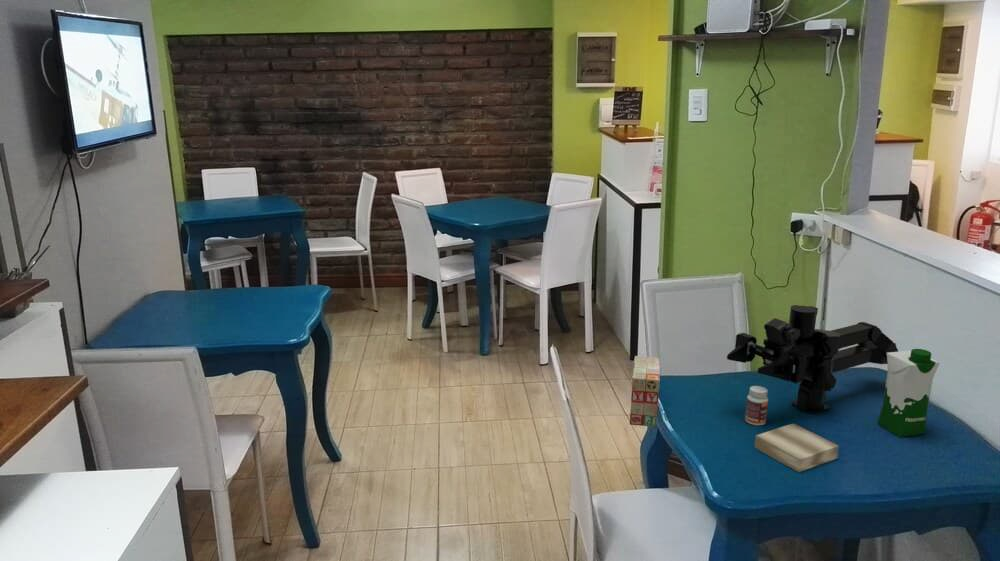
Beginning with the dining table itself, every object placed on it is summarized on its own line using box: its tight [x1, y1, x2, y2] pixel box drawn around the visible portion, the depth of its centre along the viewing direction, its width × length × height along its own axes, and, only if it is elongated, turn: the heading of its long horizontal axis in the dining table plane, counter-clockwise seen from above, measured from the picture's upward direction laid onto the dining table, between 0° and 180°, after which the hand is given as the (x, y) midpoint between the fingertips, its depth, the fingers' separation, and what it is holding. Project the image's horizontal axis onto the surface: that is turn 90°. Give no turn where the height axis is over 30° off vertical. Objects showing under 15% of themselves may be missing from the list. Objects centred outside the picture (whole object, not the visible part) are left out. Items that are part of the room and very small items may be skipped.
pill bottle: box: [744, 385, 769, 427], centre depth 177 cm, size 5×5×8 cm
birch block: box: [754, 423, 840, 473], centre depth 164 cm, size 12×12×3 cm
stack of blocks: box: [629, 355, 661, 428], centre depth 184 cm, size 21×6×12 cm, turn 168°
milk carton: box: [877, 348, 940, 438], centre depth 172 cm, size 9×9×20 cm
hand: (742, 363), depth 170 cm, fingers open, 9 cm apart
